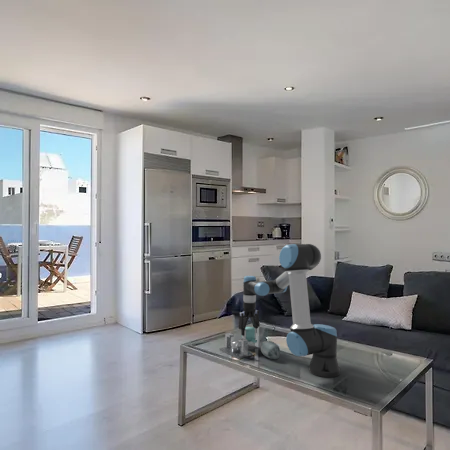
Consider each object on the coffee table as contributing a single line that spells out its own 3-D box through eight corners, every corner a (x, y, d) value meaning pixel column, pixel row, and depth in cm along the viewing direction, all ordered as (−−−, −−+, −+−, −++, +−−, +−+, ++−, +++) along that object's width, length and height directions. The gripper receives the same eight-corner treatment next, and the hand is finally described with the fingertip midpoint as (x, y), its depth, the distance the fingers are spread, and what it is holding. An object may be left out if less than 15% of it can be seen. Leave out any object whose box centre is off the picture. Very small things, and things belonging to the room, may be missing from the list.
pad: (258, 348, 227) (258, 347, 227) (247, 350, 223) (247, 349, 223) (250, 344, 234) (250, 343, 234) (239, 346, 229) (239, 345, 229)
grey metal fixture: (253, 355, 215) (253, 339, 215) (237, 358, 208) (237, 342, 208) (234, 346, 229) (234, 331, 229) (219, 349, 223) (219, 334, 223)
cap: (260, 341, 225) (260, 329, 225) (251, 343, 221) (251, 331, 221) (246, 336, 236) (246, 325, 236) (237, 338, 232) (237, 326, 232)
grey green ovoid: (286, 354, 207) (276, 337, 208) (272, 363, 204) (262, 347, 205) (277, 352, 220) (268, 337, 221) (264, 361, 217) (255, 345, 218)
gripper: (258, 299, 237) (257, 335, 237) (232, 302, 226) (232, 340, 226) (266, 301, 231) (265, 338, 231) (240, 304, 220) (239, 344, 220)
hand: (248, 339), depth 228 cm, fingers closed on cap, 7 cm apart
